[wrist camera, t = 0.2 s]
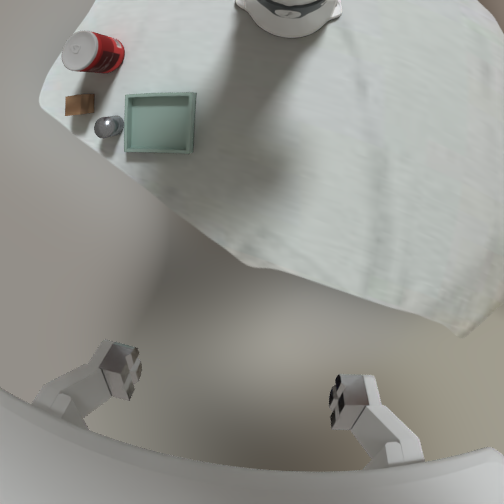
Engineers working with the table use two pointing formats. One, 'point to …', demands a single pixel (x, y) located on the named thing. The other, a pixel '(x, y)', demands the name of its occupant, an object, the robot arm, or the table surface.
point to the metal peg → (109, 126)
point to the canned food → (92, 53)
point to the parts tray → (159, 122)
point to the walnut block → (79, 104)
